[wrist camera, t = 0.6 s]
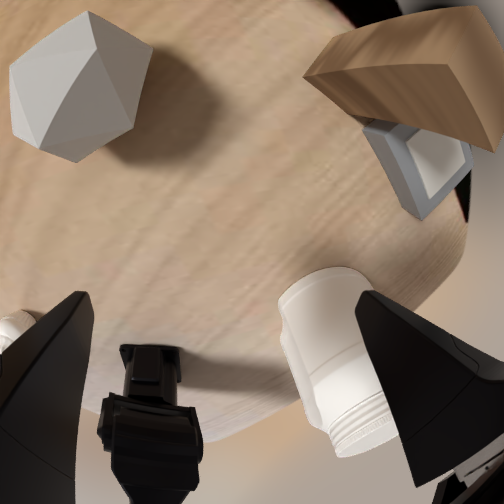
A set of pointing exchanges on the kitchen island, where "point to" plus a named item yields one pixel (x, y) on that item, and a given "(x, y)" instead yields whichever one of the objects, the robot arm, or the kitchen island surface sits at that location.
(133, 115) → the die
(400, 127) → the plinth
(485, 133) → the pillar
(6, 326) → the white piece
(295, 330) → the jar
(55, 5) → the kitchen island surface
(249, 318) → the kitchen island surface
